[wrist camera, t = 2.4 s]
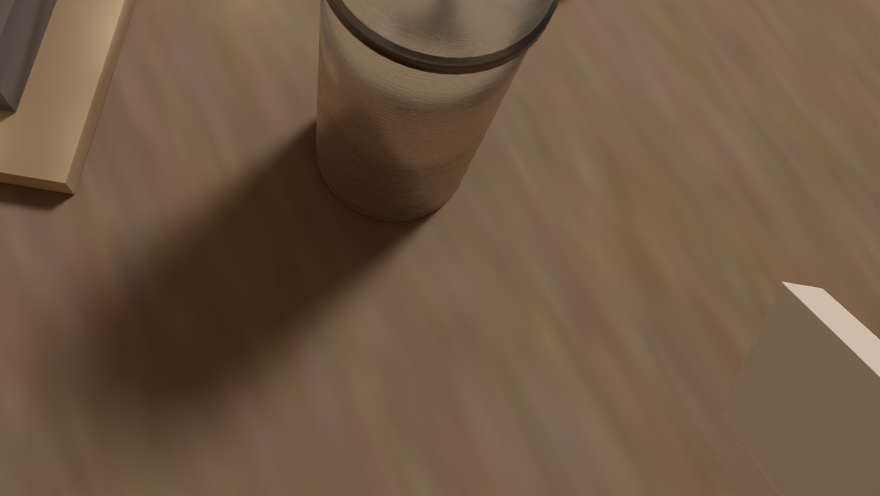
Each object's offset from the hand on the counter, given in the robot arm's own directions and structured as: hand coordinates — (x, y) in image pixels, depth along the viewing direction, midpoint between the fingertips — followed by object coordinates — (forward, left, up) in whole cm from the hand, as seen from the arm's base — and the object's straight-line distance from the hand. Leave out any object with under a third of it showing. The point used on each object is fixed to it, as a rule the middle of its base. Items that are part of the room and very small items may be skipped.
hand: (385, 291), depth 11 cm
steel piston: (0, -10, -14) cm, 17 cm away
